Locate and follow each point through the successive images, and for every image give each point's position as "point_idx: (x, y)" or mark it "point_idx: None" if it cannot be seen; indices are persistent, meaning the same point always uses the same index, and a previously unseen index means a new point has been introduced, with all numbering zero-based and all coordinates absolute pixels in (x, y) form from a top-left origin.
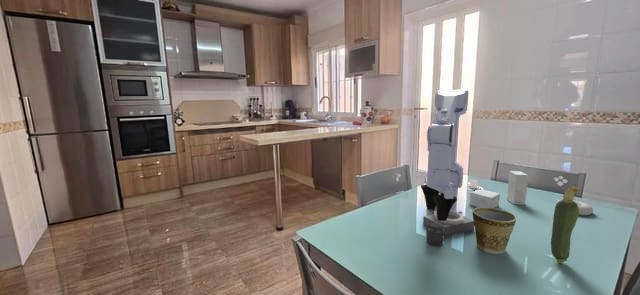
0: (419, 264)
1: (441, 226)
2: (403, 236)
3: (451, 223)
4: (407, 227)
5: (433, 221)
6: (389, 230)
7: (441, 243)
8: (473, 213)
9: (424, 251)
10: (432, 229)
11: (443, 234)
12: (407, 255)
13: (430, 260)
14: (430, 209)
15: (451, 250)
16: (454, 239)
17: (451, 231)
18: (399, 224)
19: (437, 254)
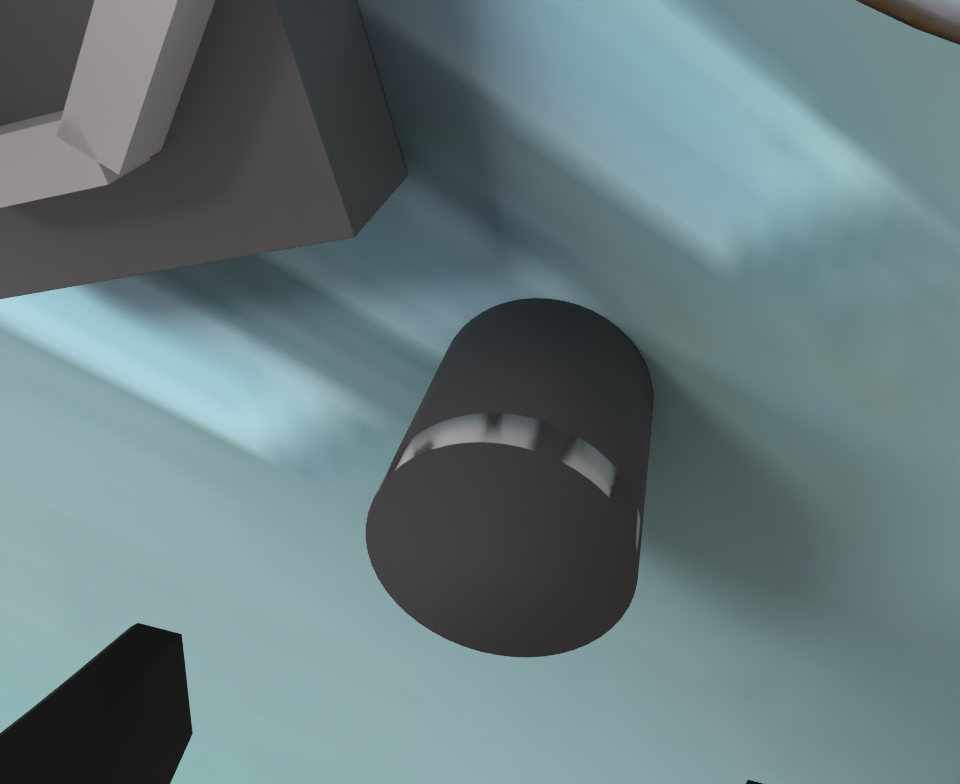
0: (927, 761)
1: (520, 482)
2: (356, 614)
3: (203, 9)
4: (131, 474)
5: (115, 277)
6: (219, 660)
7: (644, 385)
8: (942, 36)
9: (716, 604)
10: (583, 639)
11: (598, 408)
12: (737, 761)
13: (907, 651)
14: (184, 702)
15: (799, 314)
16: (504, 53)
17: (337, 31)
18: (60, 513)
19: (824, 525)
